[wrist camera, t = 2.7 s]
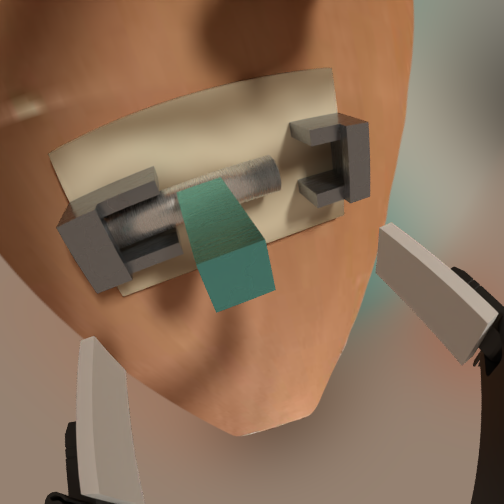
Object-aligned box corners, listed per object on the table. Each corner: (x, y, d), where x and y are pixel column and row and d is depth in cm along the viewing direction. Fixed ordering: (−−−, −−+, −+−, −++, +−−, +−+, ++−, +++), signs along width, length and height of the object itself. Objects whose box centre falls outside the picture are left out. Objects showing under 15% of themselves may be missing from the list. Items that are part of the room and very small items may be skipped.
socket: (288, 122, 21) (315, 132, 17) (337, 112, 21) (368, 122, 18) (299, 192, 24) (323, 212, 21) (342, 178, 25) (369, 196, 22)
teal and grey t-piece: (77, 218, 19) (42, 322, 11) (262, 149, 21) (346, 210, 13) (93, 249, 21) (76, 359, 12) (269, 184, 23) (346, 260, 15)
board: (52, 150, 17) (48, 154, 16) (325, 67, 20) (331, 68, 19) (123, 289, 25) (123, 296, 24) (338, 210, 28) (344, 215, 27)
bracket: (69, 202, 18) (56, 227, 15) (153, 165, 19) (154, 184, 16) (101, 262, 22) (97, 293, 19) (178, 231, 23) (185, 260, 20)
